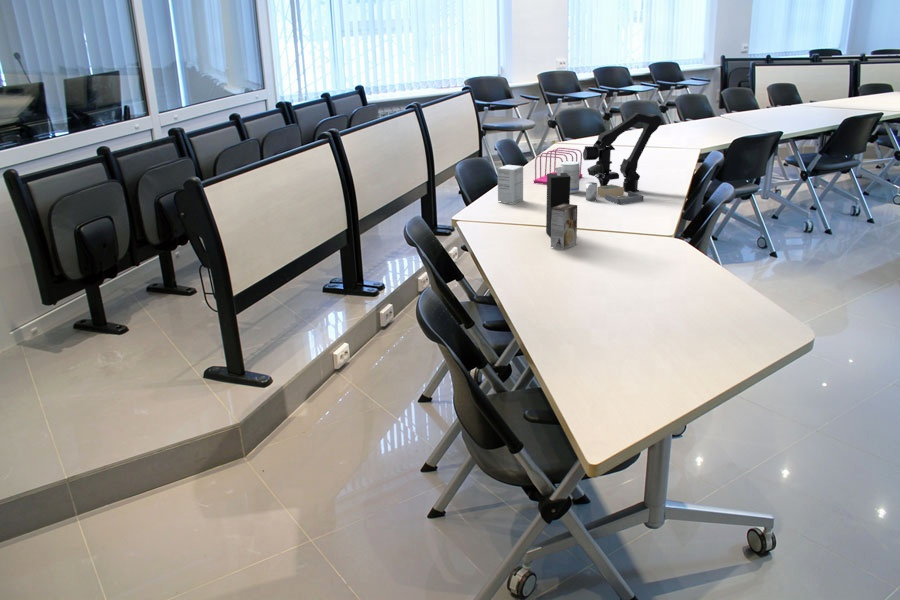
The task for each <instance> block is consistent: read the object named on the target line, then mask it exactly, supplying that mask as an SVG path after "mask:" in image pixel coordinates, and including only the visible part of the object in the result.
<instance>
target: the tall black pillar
mask: <svg viewBox="0 0 900 600" xmlns="http://www.w3.org/2000/svg"><path fill="white" fill-rule="evenodd" d="M561 171H562V167H561V166H559V167H558V166H557V167H555V172H557V173H552V172H551V173H550V172H549V173H546V175H547V184H546V218H545V219H546V221H545V222H546V223H545V225H546V226H545V228H546V229H545V232H546V234H547V236H548V237H549V238H551V208H553V207H555V206H558V205H561V204H564V203H565V204H571V201H570V200H571V193H570V181H571V177H570V176H569V175H568V174H567V173H561Z"/></svg>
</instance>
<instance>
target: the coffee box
mask: <svg viewBox="0 0 900 600" xmlns="http://www.w3.org/2000/svg"><path fill="white" fill-rule="evenodd" d="M577 232H578V205H577V204H572V203H570V204H565V203H564V204H561V205H558V206H555V207H553V208H551V237H550V248H551V247H553V248H552V249H555V248H558V249H557V250H560V249H562V250H561V251H566V250H568V249H570V248H573V247H574V246H576V245H577V242H578V241H577V239H578V237H577V235H578V234H577ZM569 247H570V248H569ZM567 248H568V249H567ZM565 249H566V250H565Z"/></svg>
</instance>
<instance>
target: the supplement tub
mask: <svg viewBox="0 0 900 600" xmlns="http://www.w3.org/2000/svg"><path fill="white" fill-rule="evenodd" d="M560 167H562V171H561V173H567V174H568V175H569V176H570V177H571V181H570V194H575V193H578V192H579V191H580V178H579V175H580V162H579V161H577V162H576V160H573V161H572V160H571V161H570V160H569V161H563V162H562V161H561V162H560Z"/></svg>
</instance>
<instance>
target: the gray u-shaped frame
mask: <svg viewBox="0 0 900 600" xmlns="http://www.w3.org/2000/svg"><path fill="white" fill-rule="evenodd" d="M628 196H629V197H628ZM605 199H606V200H605ZM604 200H605V201H608V202H610V201H611V202H610V203H613V202H614V204H616V203H617V204H616V205H618V204H619V205H624V204H623V203H625V204H631V202H632V203H637V202H638V201H639V202H644V195H642V194H640V193H637V192H631V191H628V192H627V197H621V198H620V197H613V196H611V195H608V194H606V195H605V197H604Z"/></svg>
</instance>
